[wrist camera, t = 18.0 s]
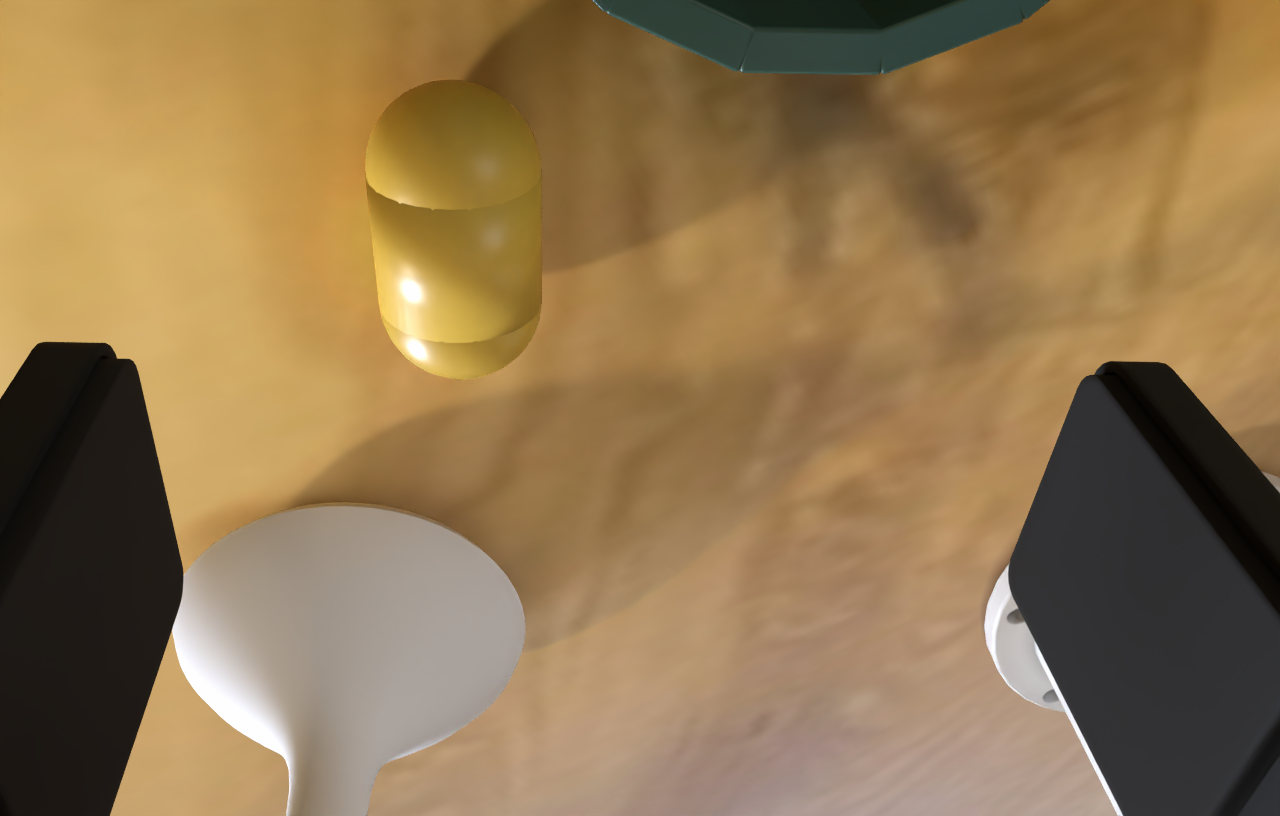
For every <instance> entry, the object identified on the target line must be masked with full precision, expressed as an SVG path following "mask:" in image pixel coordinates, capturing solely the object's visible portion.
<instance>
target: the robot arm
mask: <svg viewBox="0 0 1280 816" xmlns="http://www.w3.org/2000/svg"><path fill="white" fill-rule="evenodd" d="M183 581H184V580H183V567H182V562H181V557H180V553H179V549H178V544H177V540H176V535H175V531H174V527H173V522H172V518H171V514H170V509H169V505H168V500H167V496H166V492H165V487H164V483H163V479H162V474H161V470H160V465H159V461H158V457H157V452H156V448H155V444H154V439H153V435H152V430H151V426H150V422H149V417H148V413H147V409H146V404H145V400H144V395H143V391H142V387H141V382H140V378H139V374H138V370H137V367H136V365H135V364H134V362H133V361H132V360H130V359H117V357H116V354H115V352H114V351H113V349H112V347H111V346H110V345H108V344H106V343H76V342H42V343H38V344H37V345H36V346H35V347H34V348H33V349H32V351H31V353H30V354H29V356H28V357H27V359H26V360H25V362H24V363H23V365H22V366H21V368H20V369H19V371H18V373H17V374H16V376H15V377H14V379H13V380H12V382H11V383H10V385H9V386H8V388H7V389H6V391H5V393H4V394H3V396H2V397H1V399H0V816H110V813H111V810H112V807H113V804H114V801H115V798H116V795H117V792H118V789H119V786H120V783H121V780H122V777H123V774H124V771H125V768H126V765H127V762H128V759H129V756H130V753H131V750H132V747H133V744H134V741H135V738H136V735H137V732H138V729H139V726H140V723H141V721H142V718H143V715H144V712H145V709H146V706H147V703H148V700H149V697H150V694H151V691H152V688H153V685H154V682H155V679H156V676H157V673H158V670H159V667H160V664H161V661H162V658H163V655H164V652H165V649H166V646H167V643H168V640H169V637H170V634H171V631H172V628H173V625H174V622H175V619H176V616H177V613H178V610H179V607H180V603H181V599H182V593H183ZM984 628H985V635H986V643H987V647H988V649H989V651H990V653H991V656H992V658H993V660H994V663H995V665H996V667H997V670H998V671H999V673H1000V674H1001V676H1002V677H1003V678H1004V680H1005V681H1006V683H1007V684H1008V686H1009V687H1011V688H1012V689H1013V690H1014V691H1016V692H1017V693H1018V694H1019V695H1021V696H1022V697H1023V698H1025V699H1027V700H1029V701H1031V702H1033V703H1035V704H1037V705H1039V706H1042V707H1045V708H1049V709H1053V710H1057V711H1061V712H1065V713H1067V715H1068V717H1069V719H1070V721H1071V723H1072V725H1073V727H1074V729H1075V731H1076V733H1077V735H1078V737H1079V739H1080V741H1081V743H1082V745H1083V747H1084V749H1085V751H1086V753H1087V755H1088V757H1089V759H1090V761H1091V763H1092V765H1093V767H1094V769H1095V771H1096V773H1097V775H1098V777H1099V779H1100V781H1101V783H1102V785H1103V787H1104V789H1105V791H1106V793H1107V795H1108V797H1109V799H1110V801H1111V803H1112V805H1113V807H1114V809H1115V811H1116V812H1117V814H1118V816H1280V478H1279V477H1277V476H1274V475H1271V474H1269V473H1266V472H1263V471H1260V469H1259V468H1258V467H1257V466H1256V465H1255V464H1254V463H1253V461H1252V460H1251V459H1250V458H1249V457H1248V456H1247V454H1246V453H1245V452H1244V451H1243V450H1242V449H1241V448H1240V446H1239V445H1238V444H1237V443H1236V442H1235V441H1234V439H1233V438H1232V437H1231V436H1230V435H1229V434H1228V433H1227V431H1226V430H1225V429H1224V428H1223V427H1222V426H1221V424H1220V423H1219V422H1218V421H1217V420H1216V419H1215V418H1214V416H1213V415H1212V414H1211V413H1210V412H1209V411H1208V409H1207V408H1206V407H1205V406H1204V405H1203V404H1202V403H1201V401H1200V400H1199V399H1198V398H1197V397H1196V396H1195V394H1194V393H1193V392H1192V391H1191V390H1190V389H1189V388H1188V386H1187V385H1186V384H1185V383H1184V382H1183V381H1182V379H1181V378H1180V377H1179V376H1178V375H1177V374H1176V373H1175V371H1174V370H1173V369H1172V368H1170V367H1169V366H1168V365H1167V364H1164V363H1159V362H1119V361H1110V362H1107V363H1104V364H1102V365H1101V366H1100V367H1099V368H1098V369H1097V371H1096V373H1095V374H1094V375H1089V376H1086V377H1085V378H1084V379H1083V380H1082V381H1081V383H1080V385H1079V386H1078V388H1077V391H1076V394H1075V396H1074V399H1073V401H1072V404H1071V406H1070V409H1069V411H1068V414H1067V416H1066V419H1065V422H1064V424H1063V427H1062V429H1061V432H1060V434H1059V437H1058V439H1057V442H1056V445H1055V447H1054V450H1053V452H1052V455H1051V457H1050V460H1049V462H1048V465H1047V468H1046V470H1045V473H1044V475H1043V478H1042V480H1041V483H1040V485H1039V488H1038V490H1037V493H1036V496H1035V498H1034V501H1033V503H1032V506H1031V508H1030V511H1029V513H1028V516H1027V519H1026V521H1025V524H1024V526H1023V529H1022V531H1021V534H1020V536H1019V539H1018V541H1017V544H1016V547H1015V549H1014V552H1013V554H1012V557H1011V559H1010V563H1009V564H1008V566H1007V567H1006V569H1005V570H1004V572H1003V573H1002V575H1001V576H1000V578H999V579H998V581H997V582H996V585H995V587H994V590H993V592H992V594H991V597H990V599H989V602H988V604H987V610H986V617H985V623H984Z"/></svg>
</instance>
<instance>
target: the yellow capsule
mask: <svg viewBox="0 0 1280 816" xmlns="http://www.w3.org/2000/svg"><path fill="white" fill-rule="evenodd" d="M365 178H366V187H367V197H368V206H369V215H370V224H371V234H372V243H373V252H374V262H375V271H376V280H377V289H378V299H379V307H380V312H381V316H382V321H383V323H384V326H385V328H386V330H387V332H388V334H389V336H390V338H391V340H392V342H393V343H394V344H395V345H396V347H397V348H398V349H399V350H400V351H401V353H402V354H403V355H404V356H405V357H406V358H407V359H409V360H410V361H411V362H413V363H414V364H416V365H417V366H418V367H420V368H421V369H423V370H425V371H427V372H429V373H432V374H436V375H439V376H442V377H446V378H452V379H472V378H478V377H482V376H485V375H488V374H491V373H493V372H496V371H498V370H500V369H502V368H504V367H505V366H507V365H508V364H509V363H511V362H512V361H513V360H514V359H515V358H517V357H518V356H519V355H520V354H521V353H522V351H523V350H524V349H525V348H526V346H527V345H528V343H529V342H530V340H531V339H532V337H533V335H534V333H535V330H536V328H537V325H538V322H539V319H540V312H541V304H542V170H541V161H540V154H539V151H538V148H537V144H536V141H535V138H534V135H533V133H532V131H531V129H530V128H529V126H528V124H527V122H526V121H525V119H524V118H523V117H522V115H521V114H520V113H519V112H518V111H517V110H516V109H515V108H514V107H513V105H512V104H511V103H510V102H508V101H507V100H505V99H504V98H503V97H501V96H500V95H498V94H497V93H495V92H494V91H492V90H490V89H488V88H486V87H483V86H480V85H477V84H475V83H471V82H467V81H461V80H439V81H433V82H429V83H425V84H423V85H420V86H418V87H415V88H413V89H410V90H408V91H407V92H405V93H404V94H402V95H401V96H400V97H398V98H397V99H396V100H394V101H393V102H392V103H391V104H390V105H389V106H388V107H387V108H386V110H385V111H384V112H383V113H382V115H381V116H380V117H379V119H378V121H377V123H376V125H375V127H374V129H373V131H372V133H371V135H370V137H369V141H368V145H367V150H366V171H365Z"/></svg>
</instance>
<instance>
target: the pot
mask: <svg viewBox="0 0 1280 816" xmlns="http://www.w3.org/2000/svg"><path fill="white" fill-rule="evenodd" d="M592 1H593V2H594V3H595V4H596V5H597V6H598V7H599V8H600V9H601V10H602V11H606V12H607V13H608V15H611V16H613V17H615V18H617V19H619V20H622V21H624V22H626V23H628V24H631V25H633V26H635V27H637V28H639V29H642V30H644V31H646V32H648V33H651V34H653V35H655V36H657V37H659V38H662V39H664V40H666V41H668V42H671V43H673V44H675V45H677V46H679V47H682V48H684V49H686V50H688V51H690V52H693V53H695V54H697V55H699V56H702V57H704V58H706V59H708V60H710V61H713V62H715V63H717V64H719V65H722V66H724V67H726V68H728V69H730V70H733V71H741V72H743V73H790V74H855V75H877V74H880V72H881V73H882V74H886V73H889V72H892V71H894V70H897V69H900V68H902V67H905V66H908V65H910V64H913V63H916V62H918V61H921V60H924V59H926V58H929V57H932V56H934V55H937V54H939V53H942V52H945V51H947V50H950V49H953V48H955V47H958V46H961V45H963V44H966V43H969V42H971V41H974V40H977V39H979V38H982V37H985V36H987V35H990V34H993V33H995V32H998V31H1001V30H1003V29H1006V28H1009V27H1011V26H1014V25H1017V24H1019V23H1021V22H1023V19H1027V18H1029V17H1030V16H1031V15H1033V14H1034V13H1035V12H1036V11H1038V10H1039V9H1040V8H1041V7H1042V6H1044V5H1045V4H1046V3H1047V2H1049V1H1050V0H592Z"/></svg>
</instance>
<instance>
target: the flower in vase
mask: <svg viewBox="0 0 1280 816" xmlns="http://www.w3.org/2000/svg"><path fill="white" fill-rule="evenodd" d="M183 580H184V581H183V593H182V599H181V603H180V607H179V610H178V613H177V616H176V619H175V622H174V625H173V628H172V630H173V637H174V642H175V647H176V652H177V655H178V659H179V662H180V666H181V668H182V670H183V672H184V674H185V676H186V678H187V680H188V681H189V682H190V684H191V685H192V687H193V688H194V689H195V691H196V692H197V693H198V694H199V695H200V696H201V697H202V698H203V699H204V700H205V701H206V703H207V704H208V705H209V706H210V707H211V708H212V709H213V710H214V711H216V712H217V713H218V714H219V715H220V716H221V717H222V718H223V719H224V720H225V721H226V722H227V723H229V724H230V725H231V726H233V727H234V728H235V729H237V730H238V731H240V732H241V733H243V734H245V735H246V736H248V737H250V738H251V739H253V740H255V741H256V742H258V743H260V744H262V745H263V746H265V747H267V748H269V749H271V750H273V751H275V752H277V753H279V754H281V755H282V756H283V757H284V758H285V760H286V763H287V766H288V769H289V797H288V805H287V812H286V816H367V813H368V807H369V801H370V794H371V791H372V788H373V785H374V782H375V779H376V775H377V774H378V772H379V771H380V769H381V768H382V766H383V765H384V764H386V763H387V762H389V761H392V760H395V759H398V758H401V757H404V756H406V755H409V754H411V753H414V752H417V751H419V750H422V749H424V748H426V747H429V746H431V745H434V744H436V743H438V742H440V741H442V740H444V739H445V738H447V737H449V736H451V735H452V734H454V733H455V732H457V731H458V730H460V729H461V728H462V727H464V726H465V725H467V724H468V723H470V722H471V721H473V720H474V719H476V718H477V717H478V716H480V715H481V714H482V713H483V712H484V711H485V710H487V709H488V708H489V707H490V706H491V705H492V704H493V703H494V702H495V700H496V699H497V698H498V697H499V696H500V695H501V693H502V692H503V690H504V688H505V687H506V685H507V683H508V682H509V680H510V678H511V676H512V674H513V672H514V670H515V668H516V665H517V663H518V661H519V658H520V655H521V653H522V650H523V645H524V640H525V617H524V612H523V607H522V604H521V602H520V599H519V597H518V594H517V592H516V590H515V588H514V586H513V585H512V583H511V581H510V580H509V578H508V577H507V575H506V574H505V573H504V572H503V571H502V569H501V568H500V567H499V566H498V565H497V564H496V562H495V561H493V560H492V559H491V558H490V557H489V556H488V555H487V554H486V553H485V552H483V551H482V550H481V549H480V548H479V547H478V546H477V545H475V544H474V543H473V542H472V541H470V540H469V539H467V538H466V537H464V536H463V535H461V534H460V533H458V532H457V531H455V530H453V529H451V528H449V527H447V526H446V525H444V524H442V523H440V522H438V521H435V520H433V519H430V518H428V517H425V516H423V515H420V514H417V513H414V512H410V511H406V510H402V509H399V508H394V507H388V506H383V505H377V504H367V503H355V502H331V503H319V504H311V505H304V506H299V507H295V508H290V509H286V510H282V511H279V512H276V513H273V514H270V515H267V516H264V517H261V518H259V519H257V520H255V521H253V522H251V523H248V524H246V525H244V526H242V527H240V528H238V529H236V530H234V531H232V532H231V533H229V534H227V535H226V536H224V537H223V538H221V539H220V540H218V541H217V542H215V543H214V544H212V545H211V546H210V547H209V548H208V549H207V550H205V551H204V552H203V553H202V554H201V555H200V556H199V557H198V558H197V559H196V560H195V561H194V563H193V564H192V565H191V566H190V567H189V569H188V570H187V571H186V573H185V575H184V577H183Z"/></svg>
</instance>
